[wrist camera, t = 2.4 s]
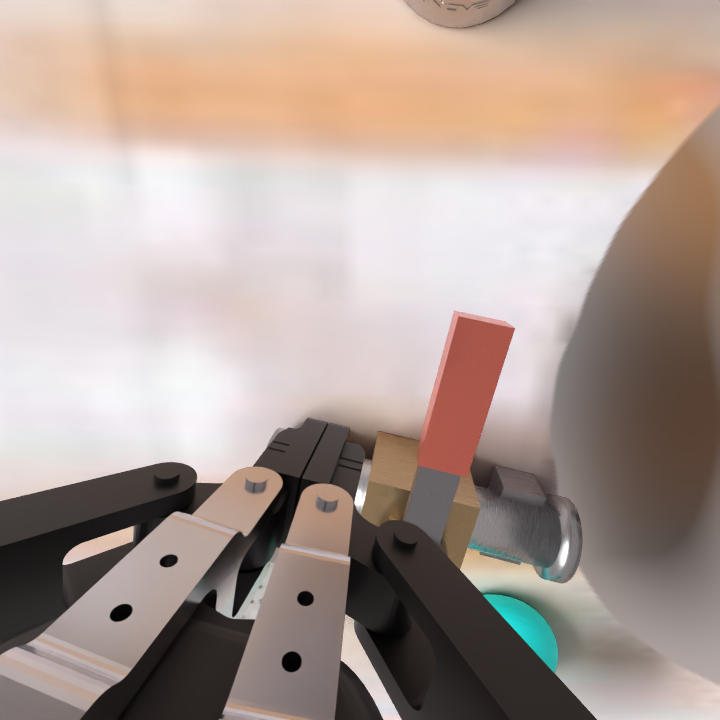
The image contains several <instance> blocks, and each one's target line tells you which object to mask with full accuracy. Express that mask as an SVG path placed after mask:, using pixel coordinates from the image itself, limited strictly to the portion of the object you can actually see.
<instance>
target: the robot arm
mask: <svg viewBox="0 0 720 720" xmlns="http://www.w3.org/2000/svg"><path fill="white" fill-rule="evenodd" d="M404 1H405V2H406V3H407V4H408V5H409V6H410V7H411V8H412V9H413V10H414V11H415V12H416V13H417V14H418V15H420V16H422V17H423V18H425V19H426V20H428V21H430V22H432V23H435V24H438V25H442V26H445V27H468V26H473V25H477V24H481V23H483V22H485V21H487V20H490V19H492V18H494V17H496V16H498V15H499V14H500V13H502V12H503V11H504V10H506V9H507V8H509V7H510V6H511V5H513V3H514V2H515V1H516V0H404ZM349 430H350V428H349V427H345V426H341V425H337V424H333V423H329V424H328V422H324V421H320V420H316V419H311V418H307V419H306V421H305V422H304V424H303V425H302V427H301V428H300V430H297V429H293V428H287V429H285V430H283V431H281V432H279V433H278V434H277V435H276V437H275V438H274V439H273V441H272V442H271V443H270V444H269V446H268V448H266V450H265V451H264V452H263V454H262V455H261V456H260V458H259V459H258V460H257V462H256V463H255V464H254V466H253V467H246V468H243V469H240V470H238V471H236V472H234V473H233V474H232V475H231V476H230V477H229V478H228V479H227V480H226V481H225V482H224V483H196V481H197V474H196V472H195V470H194V469H193V468H192V467H190V466H188V465H185V464H182V463H175V462H166V463H159V464H155V465H151V466H146V467H142V468H138V469H134V470H130V471H125V472H121V473H117V474H113V475H109V476H104V477H100V478H96V479H92V480H88V481H83V482H79V483H75V484H71V485H67V486H62V487H58V488H54V489H50V490H46V491H41V492H37V493H33V494H29V495H25V496H20V497H16V498H12V499H8V500H4V501H0V720H383V718H382V716H381V714H380V712H379V710H378V708H377V706H376V704H375V702H374V700H373V698H372V697H371V695H370V693H369V692H368V690H367V689H366V687H365V685H364V684H363V683H362V682H361V680H360V679H359V678H358V676H357V675H356V674H355V673H354V672H353V671H352V670H351V669H350V668H349V667H348V666H347V665H346V664H345V663H344V662H342V661H341V660H340V659H341V649H342V639H343V629H344V619H345V614H346V615H348V616H350V617H351V618H353V619H354V628H355V632H356V635H357V637H358V639H359V641H360V643H361V645H362V647H363V648H364V650H365V652H366V654H367V656H368V658H369V660H370V661H371V663H372V665H373V667H374V669H375V671H376V673H377V674H378V676H379V678H380V680H381V682H382V684H383V685H384V687H385V689H386V691H387V693H388V695H389V697H390V698H391V700H392V702H393V704H394V706H395V708H396V710H397V711H398V713H399V715H400V717H401V719H402V720H597V719H596V718H595V717H594V716H593V715H592V714H591V713H590V712H589V710H588V709H587V708H586V707H585V706H584V705H583V704H582V703H581V702H580V701H579V700H578V698H577V697H576V696H575V695H574V694H573V693H572V692H571V691H570V690H569V689H568V688H567V686H566V685H565V684H564V683H563V682H562V681H561V680H560V679H559V678H558V677H557V675H556V674H555V673H554V672H553V671H552V670H551V669H550V668H549V667H548V666H547V665H546V663H545V662H544V661H543V660H542V659H541V658H540V657H539V656H538V655H537V654H536V653H535V651H534V650H533V649H532V648H531V647H530V646H529V645H528V644H527V643H526V642H525V641H524V639H523V638H522V637H521V636H520V635H519V634H518V633H517V632H516V631H515V630H514V629H513V627H512V626H511V625H510V624H509V623H508V622H507V621H506V620H505V619H504V618H503V617H502V615H501V614H500V613H499V612H498V611H497V610H496V609H495V608H494V607H493V606H492V605H491V603H490V602H489V601H488V600H487V599H486V598H485V597H484V596H483V595H482V594H481V592H480V591H479V590H478V589H477V588H476V587H475V586H474V585H473V584H472V583H471V582H470V580H469V579H468V578H467V577H466V576H465V575H464V574H463V573H462V572H461V571H460V570H459V568H458V567H457V566H456V565H455V564H454V563H453V562H452V561H451V560H450V559H449V558H448V556H447V555H446V554H445V553H444V552H443V551H442V550H441V549H440V548H439V547H438V546H437V544H436V543H435V542H434V541H433V540H432V539H431V538H430V537H429V536H428V535H427V534H426V533H425V532H424V531H423V530H422V529H421V528H419V527H418V526H416V525H414V524H412V523H409V522H406V521H402V520H391V521H387V522H384V523H383V524H381V525H380V526H379V527H377V526H376V525H374V524H372V523H370V522H368V521H367V520H366V519H364V518H363V517H362V516H361V515H360V513H359V512H358V511H357V509H356V506H355V498H356V493H357V489H358V485H359V480H360V476H361V471H362V467H363V462H364V458H365V452H364V450H363V448H362V446H361V445H359V444H355V443H351V442H347V440H348V436H349ZM131 526H134V534H133V542H130V543H128V544H125V545H122V546H119V547H116V548H114V549H111V550H108V551H105V552H102V553H100V554H97V555H94V556H91V557H89V558H86V559H83V560H80V561H77V562H75V563H72V564H68V565H62V563H63V559H64V557H65V555H66V554H67V553H68V552H69V551H70V550H71V549H72V548H73V547H75V546H77V545H78V544H80V543H83V542H86V541H89V540H92V539H95V538H98V537H101V536H104V535H107V534H110V533H113V532H116V531H119V530H122V529H125V528H128V527H131ZM276 548H280V549H279V552H278V555H277V558H276V561H275V564H274V567H273V569H272V572H271V575H270V578H269V581H268V584H267V587H266V590H265V593H264V596H263V599H262V602H261V604H260V607H259V610H258V613H257V616H256V619H242V617H243V615H244V613H245V611H246V610H247V608H248V606H249V604H250V602H251V601H252V599H253V597H254V595H255V594H256V592H257V590H258V588H259V586H260V585H261V583H262V581H263V579H264V578H265V576H266V574H267V572H268V570H269V565H270V560H271V558H272V556H273V554H274V552H275V550H276Z"/></svg>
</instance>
